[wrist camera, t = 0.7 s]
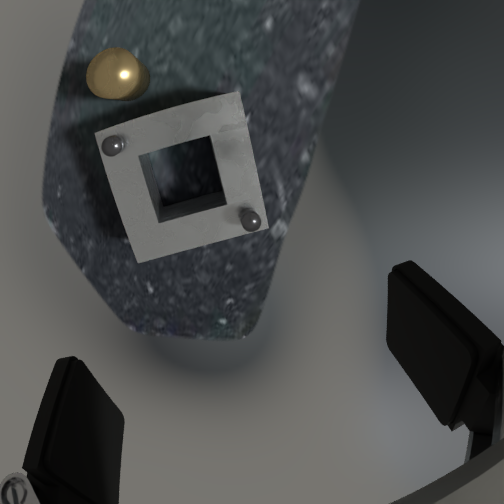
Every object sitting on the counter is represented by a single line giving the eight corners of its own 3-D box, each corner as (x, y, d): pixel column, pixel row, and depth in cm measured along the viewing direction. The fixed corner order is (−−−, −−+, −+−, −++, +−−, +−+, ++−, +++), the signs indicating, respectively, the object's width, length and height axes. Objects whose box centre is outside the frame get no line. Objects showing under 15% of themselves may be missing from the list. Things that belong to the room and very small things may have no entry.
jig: (109, 129, 27) (88, 134, 21) (232, 94, 28) (242, 89, 22) (144, 241, 32) (135, 271, 26) (258, 210, 33) (272, 234, 27)
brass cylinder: (105, 69, 24) (81, 58, 18) (145, 55, 25) (131, 40, 18) (114, 106, 26) (92, 106, 20) (154, 93, 27) (142, 88, 20)
